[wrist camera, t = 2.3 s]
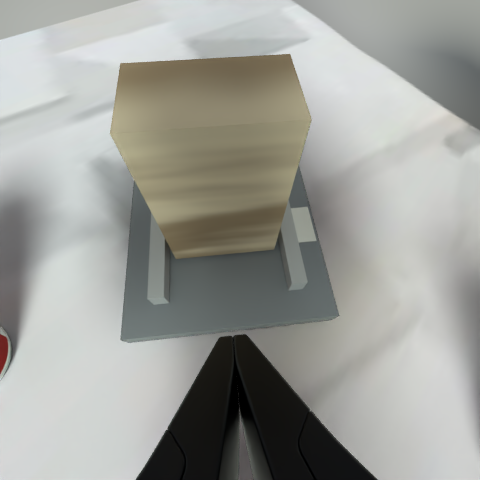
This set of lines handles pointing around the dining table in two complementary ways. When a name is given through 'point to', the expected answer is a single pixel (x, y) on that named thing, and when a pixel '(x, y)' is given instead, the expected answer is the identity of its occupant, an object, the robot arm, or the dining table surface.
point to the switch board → (224, 280)
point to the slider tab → (213, 147)
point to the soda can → (4, 351)
